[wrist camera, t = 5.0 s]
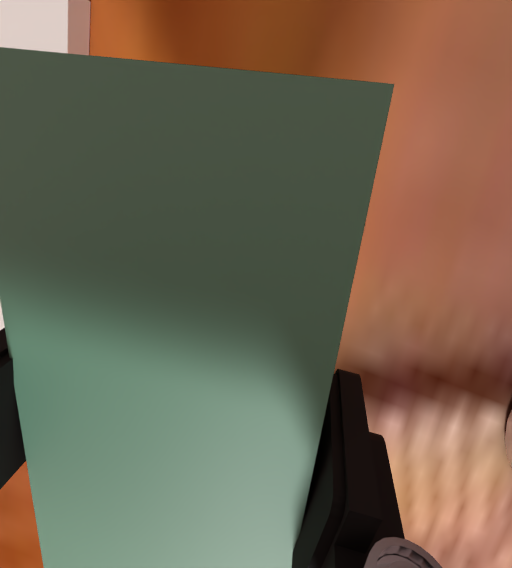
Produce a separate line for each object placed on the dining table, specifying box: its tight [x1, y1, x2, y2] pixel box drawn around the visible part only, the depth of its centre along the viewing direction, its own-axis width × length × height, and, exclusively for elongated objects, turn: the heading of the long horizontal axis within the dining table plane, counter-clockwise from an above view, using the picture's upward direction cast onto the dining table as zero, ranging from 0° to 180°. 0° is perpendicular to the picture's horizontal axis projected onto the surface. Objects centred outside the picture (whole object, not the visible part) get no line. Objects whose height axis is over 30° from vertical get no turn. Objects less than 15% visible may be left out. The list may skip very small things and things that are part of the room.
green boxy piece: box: [0, 47, 394, 568], centre depth 10 cm, size 6×14×4 cm, turn 174°
